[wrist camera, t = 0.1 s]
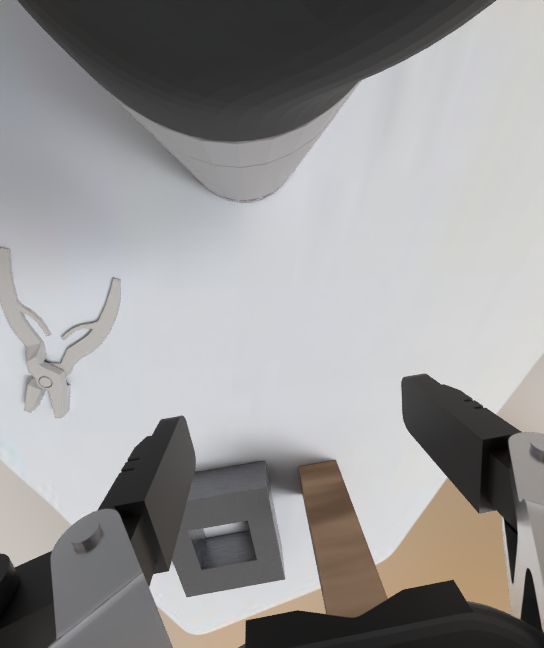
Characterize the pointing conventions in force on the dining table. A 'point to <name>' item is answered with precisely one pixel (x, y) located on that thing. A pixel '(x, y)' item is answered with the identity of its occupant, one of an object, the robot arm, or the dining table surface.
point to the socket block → (234, 549)
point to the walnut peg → (339, 543)
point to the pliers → (48, 373)
